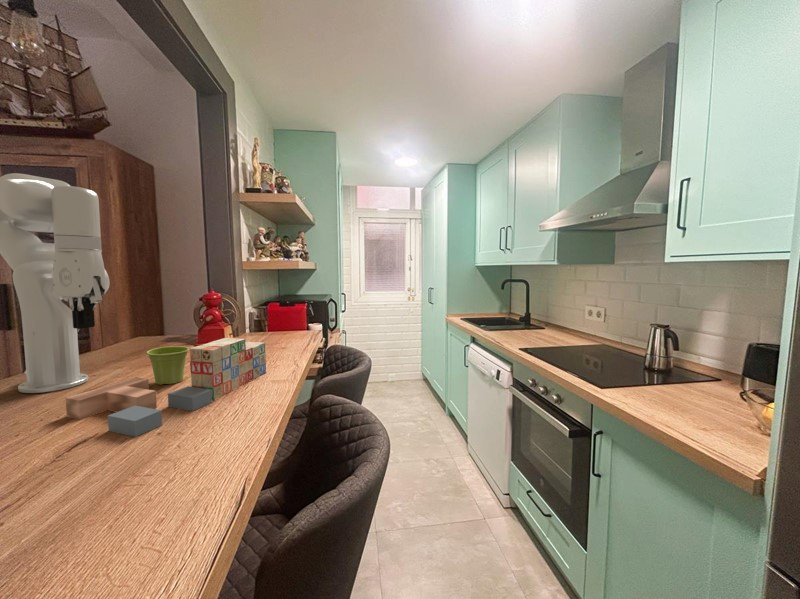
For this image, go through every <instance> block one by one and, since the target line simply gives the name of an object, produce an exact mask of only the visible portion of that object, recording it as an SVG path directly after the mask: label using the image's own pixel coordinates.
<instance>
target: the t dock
mask: <svg viewBox="0 0 800 599" xmlns="http://www.w3.org/2000/svg"><path fill="white" fill-rule="evenodd" d="M211 403H213V399H212V393H211V390H209V389H203V388H196V387H191V386H189V385H187V386H184V387H182V388H179V389H177V390H173V391H171V392H168V393H167V404H168V405H167V406H169V407H170V408H173V407H174V408H175V409H180V410H186V411H192V412H193V411H197V410H199V409H200V408H203V407H205V406H208V405H209V404H211ZM162 421H163V418H162V410H161V409H151V408H146V407H141V406H132V407H130V408H127V409H124V410H122V411H119V412H116V411H115V412H114V413H110V414H108V415H107V424H108V428H107V429H108V431H109V432H113V433H117V434H121V435H124V436H125V435H126V436H131V437H136V438H137V437H138V436H140V435H143V434H145V433H147V432H150V431H152V430H154V429H156V428H158V427H160V426H161V427H162V425H163V422H162Z"/></svg>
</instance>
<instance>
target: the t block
mask: <svg viewBox="0 0 800 599" xmlns="http://www.w3.org/2000/svg"><path fill="white" fill-rule="evenodd" d="M132 406H141V407H146V408H151V409H156V408H158V404H157V390H153V389H149V379H147V378H142V377H134V378H133V377H132V378H130V379H126V380H125V379H124V380H122V381H120V382H116V383H112V384H108V385H104V386H102V387H98V388H95V389H91V390H88V391H85V392H81V393H77V394H74V395H71V396H67V397H65V409H66V417H67V418H72V419H75V420H83V419H86V418H88V416H89V417H91V416H90V415H92V416H94V415H97V414H100V413H102V411H103V412H105V411H111V412H115V413H116V412H119V411H122V410H124V409H127V408H130V407H132ZM99 412H100V413H99ZM96 413H97V414H96ZM93 414H94V415H93ZM85 417H86V418H85Z"/></svg>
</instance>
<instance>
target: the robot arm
mask: <svg viewBox="0 0 800 599" xmlns="http://www.w3.org/2000/svg"><path fill="white" fill-rule="evenodd" d="M99 200H100V199H99V196H98V194H97V192H95V191H94V190H91V189H88V188H85V187H80V186H72V185H70V184H69V183H68V182H65V181H63V180H60V179H54V178H48V177H43V176H42V177H41V176H37V175H33V174H32V175H31V174H25V173H20V172H19V173H18V172H17V173H16V172H15V173H14V172H13V173H6V174H4V175H2V176H0V255H1V257H2V258H3V259H4V261H5V262H6V263H7V265H8V266H9V267H10V269H11V270H12V271H13V272H12V284H13V286H14V289H15V291H16V292H15V293H16V296H17V298H18V302H19V307H20V313H21V324H22V333H23V334H22V336H23V346H24V347H23V348H24V358H25V360H24V361H25V370H24V372H23V373H24V375H26V381H24V382H22V383H19V385H18V387H17V389H18V392H20V393H22V394H39V393H40V394H41V393H49V392H56V391H60V390H66V389H70V388H74V387H76V386H79V385H82V384H85V383H86V382H87V381H89V375H88V374H86V373H82V372H81V371H80V369H81V368H80V367H81V366H80V356H79V355H80V354H79V353H80V351H79V343H78V342H79V341H78V340H79V339H78V338H79V337H78V330H81V329H88V328H94V327H95V324H96V323H95V310H96V306H97V305H96V304H98V303H101V302H103V297H102V296H104V295H106V293H107V292H108V290H109V288H110V276H109V274H108V272H107V270H106V269H105V264H104V259H103V255H102V252H103V250H102V237H101V236H102V235H101V217H100V201H99ZM32 232H38V233H53V238H54V239H53V241H54V242H53V243H51V242H43V241H42V240H41V239H40V238H39V237H38V236H36V235H35V234H34V233H32ZM62 300H63V301H65V302H68V303H69V306H67V305H66V304H65V303H64V302H63V301H62Z"/></svg>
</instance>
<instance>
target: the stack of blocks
mask: <svg viewBox="0 0 800 599" xmlns="http://www.w3.org/2000/svg"><path fill="white" fill-rule="evenodd" d="M189 356H190V358H189V359H190V361H189V363H190V364H189V368H190V380H191V381H190V382H191V386H190V387H196V388H203V389H209V390H211V393H212V400H216V399H218V398H220V397H222V396H224V395H226V394H228V393H230V392H232V391H234V390H237V389H238V388H240V387H241V386H243V385H245V384H247V383H248V382H249V383H250V381H252V380H254V379H256V378H258V377H261V376H262V375H264V374H266V373H267V359H266V358H267V356H266V342H258V341H257V342H255V341H246V338H235V337H234V338H233V337H232V338H231V337H223V338H220V339H217V340H213V341H210V342H208V343H203V344H200V345H197V346H194V347H190V348H189Z"/></svg>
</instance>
